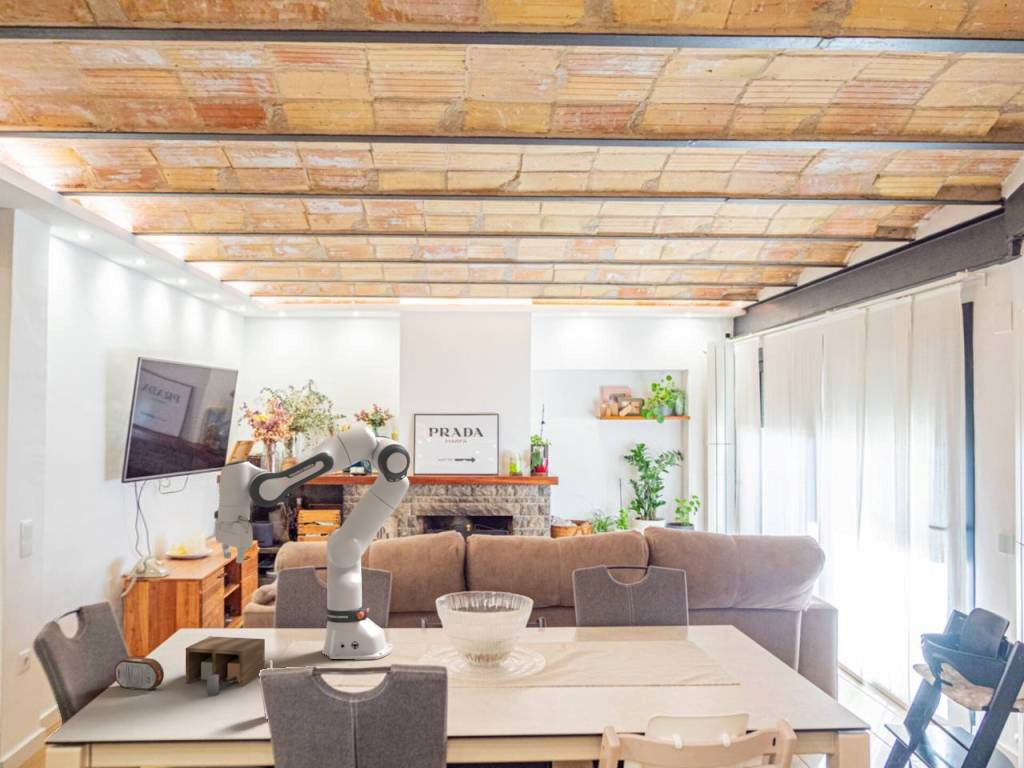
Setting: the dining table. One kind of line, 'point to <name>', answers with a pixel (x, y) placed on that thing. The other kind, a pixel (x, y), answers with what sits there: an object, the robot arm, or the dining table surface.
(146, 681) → the tin
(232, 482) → the robot arm
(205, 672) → the green block
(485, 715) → the dining table surface
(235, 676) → the pull block
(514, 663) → the dining table surface
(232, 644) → the shelf unit
